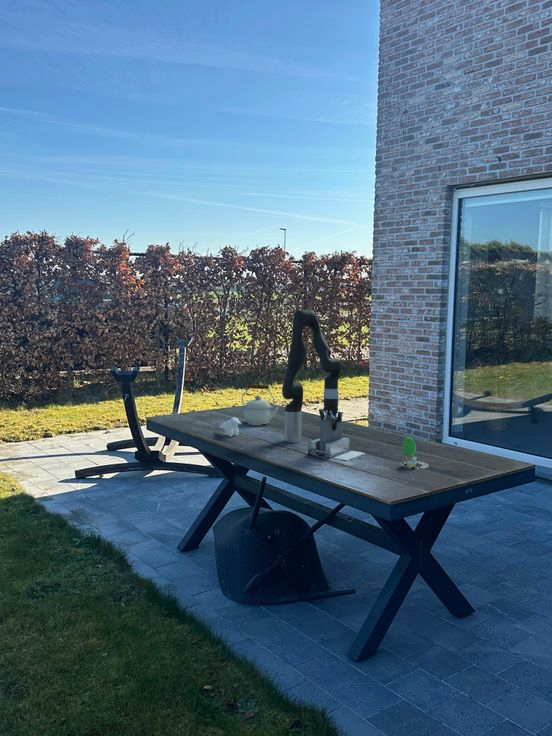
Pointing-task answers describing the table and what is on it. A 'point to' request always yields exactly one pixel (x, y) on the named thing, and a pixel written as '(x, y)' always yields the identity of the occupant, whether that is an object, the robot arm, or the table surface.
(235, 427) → the white dinosaur figurine
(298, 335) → the robot arm
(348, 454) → the mat
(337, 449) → the vise
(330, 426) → the hip flask
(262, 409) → the kettle
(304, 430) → the table surface
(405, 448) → the train set
